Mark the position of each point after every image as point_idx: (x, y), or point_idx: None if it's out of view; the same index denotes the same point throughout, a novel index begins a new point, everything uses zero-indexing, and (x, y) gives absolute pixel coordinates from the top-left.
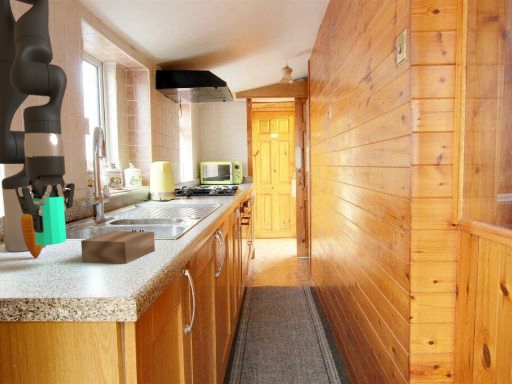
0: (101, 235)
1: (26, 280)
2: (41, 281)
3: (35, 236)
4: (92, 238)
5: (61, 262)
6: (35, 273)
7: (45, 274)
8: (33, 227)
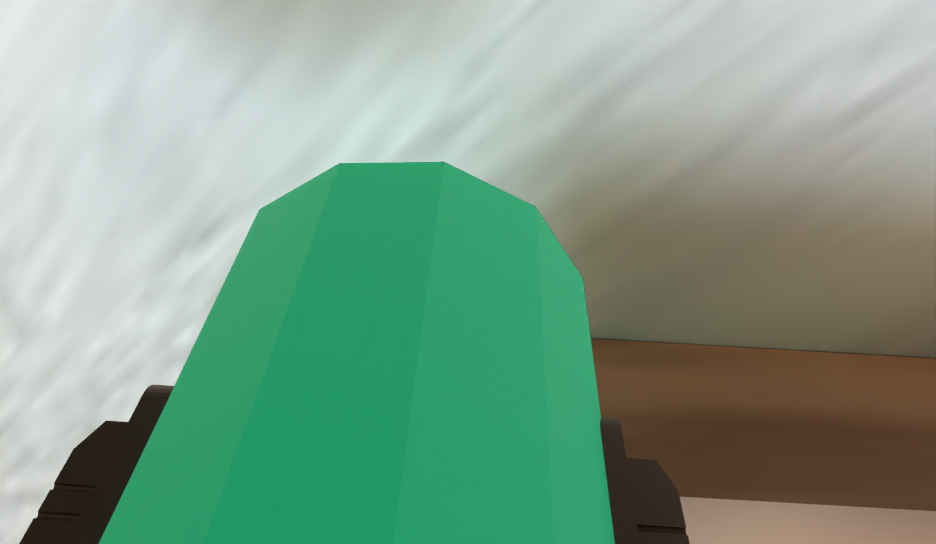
0: (895, 529)
1: (28, 268)
2: (63, 382)
3: (227, 278)
4: (721, 530)
5: (549, 162)
6: (184, 194)
7: (191, 296)
8: (70, 464)
